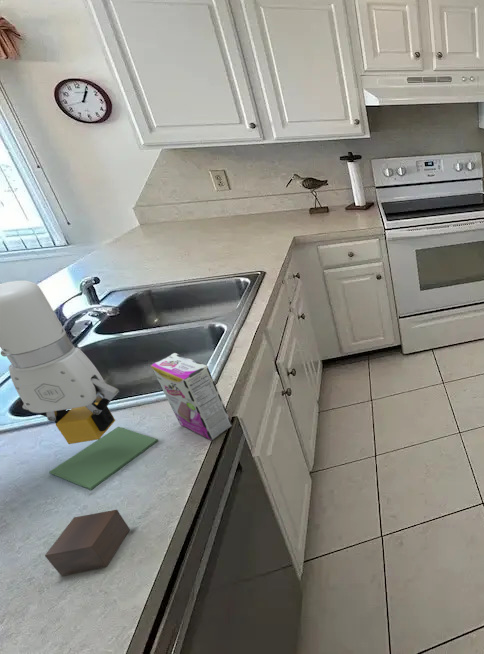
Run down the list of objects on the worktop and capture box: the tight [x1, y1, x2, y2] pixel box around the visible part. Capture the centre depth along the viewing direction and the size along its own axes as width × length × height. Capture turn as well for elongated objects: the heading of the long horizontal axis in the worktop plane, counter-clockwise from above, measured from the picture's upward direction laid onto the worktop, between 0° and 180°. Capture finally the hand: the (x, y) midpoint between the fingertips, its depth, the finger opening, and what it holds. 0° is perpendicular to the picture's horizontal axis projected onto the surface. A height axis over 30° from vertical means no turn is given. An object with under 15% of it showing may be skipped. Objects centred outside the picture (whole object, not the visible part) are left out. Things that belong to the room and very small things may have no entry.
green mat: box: [48, 426, 159, 491], centre depth 82 cm, size 12×12×1 cm
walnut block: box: [44, 509, 131, 577], centre depth 64 cm, size 6×6×5 cm
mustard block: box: [55, 401, 116, 445], centre depth 78 cm, size 5×5×5 cm
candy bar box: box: [150, 352, 233, 441], centre depth 85 cm, size 11×5×16 cm, turn 65°
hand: (90, 427), depth 79 cm, fingers closed on mustard block, 5 cm apart
